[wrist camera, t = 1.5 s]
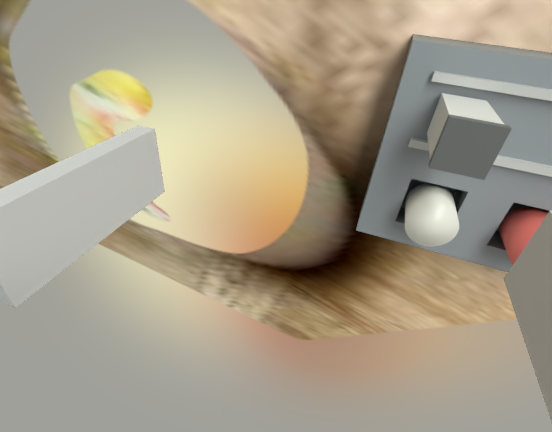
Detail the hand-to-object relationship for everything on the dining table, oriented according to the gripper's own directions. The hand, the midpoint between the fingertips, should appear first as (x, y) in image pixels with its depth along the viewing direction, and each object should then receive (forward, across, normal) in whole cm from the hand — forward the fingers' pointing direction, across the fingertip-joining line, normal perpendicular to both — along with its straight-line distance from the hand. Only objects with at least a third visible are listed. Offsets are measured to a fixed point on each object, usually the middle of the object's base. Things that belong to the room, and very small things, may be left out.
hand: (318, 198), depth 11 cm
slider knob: (+17, +7, -1) cm, 19 cm away
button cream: (+18, +7, -9) cm, 22 cm away
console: (+23, +12, -5) cm, 26 cm away
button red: (+18, +15, -9) cm, 26 cm away
